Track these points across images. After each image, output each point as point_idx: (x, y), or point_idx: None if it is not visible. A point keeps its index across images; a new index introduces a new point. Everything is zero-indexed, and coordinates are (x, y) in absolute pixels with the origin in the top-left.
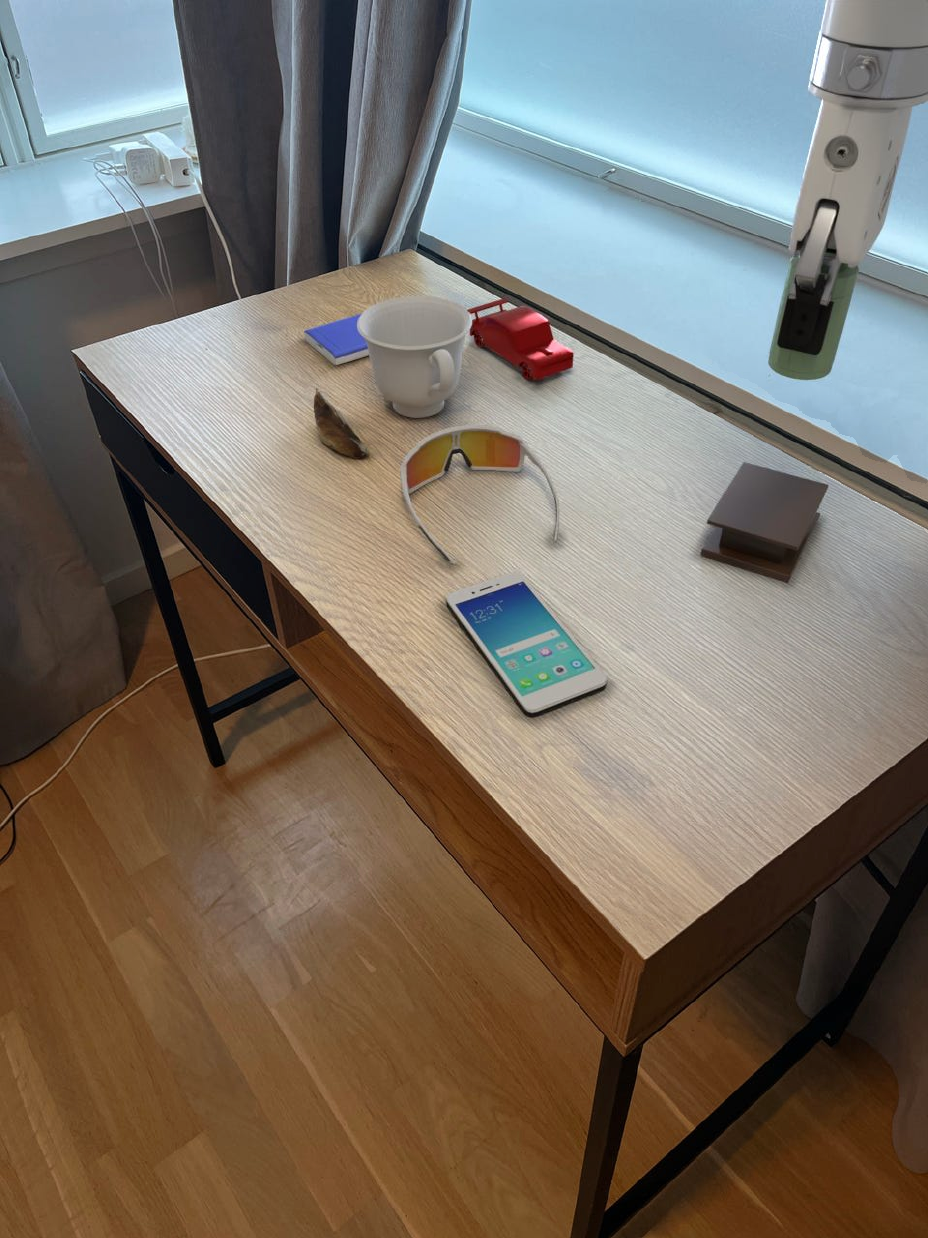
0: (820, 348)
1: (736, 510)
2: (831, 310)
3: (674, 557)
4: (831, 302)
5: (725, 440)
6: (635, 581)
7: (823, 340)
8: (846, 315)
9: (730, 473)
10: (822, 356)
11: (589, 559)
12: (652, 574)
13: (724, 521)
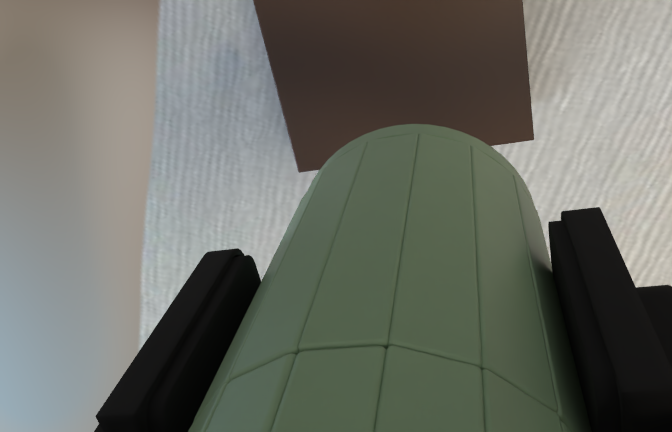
0: (602, 219)
1: (466, 108)
2: (635, 351)
3: (555, 143)
4: (646, 402)
5: (180, 228)
6: (663, 165)
7: (598, 238)
8: (340, 244)
9: (259, 179)
10: (494, 187)
11: (643, 252)
12: (626, 151)
13: (517, 110)
